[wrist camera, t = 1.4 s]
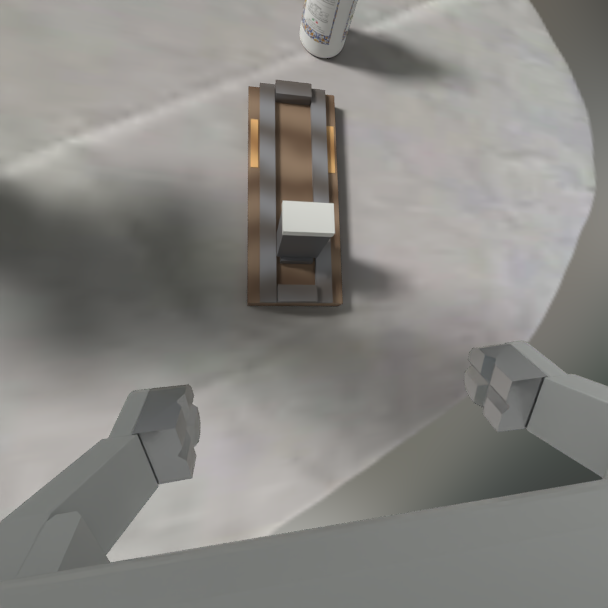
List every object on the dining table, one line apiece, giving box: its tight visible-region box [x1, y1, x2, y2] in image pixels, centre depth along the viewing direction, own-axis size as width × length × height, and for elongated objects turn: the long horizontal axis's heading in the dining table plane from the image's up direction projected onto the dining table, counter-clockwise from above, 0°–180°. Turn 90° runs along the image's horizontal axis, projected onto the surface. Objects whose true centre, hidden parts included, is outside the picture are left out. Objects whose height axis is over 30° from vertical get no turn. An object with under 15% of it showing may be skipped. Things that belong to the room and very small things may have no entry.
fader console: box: [247, 80, 343, 306], centre depth 45 cm, size 30×12×4 cm, turn 1°
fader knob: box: [277, 201, 335, 264], centre depth 39 cm, size 4×5×10 cm
